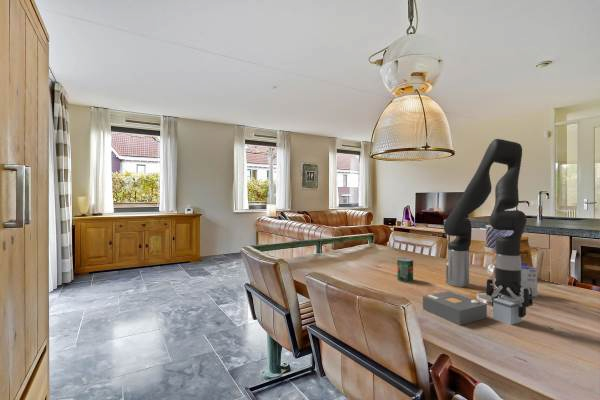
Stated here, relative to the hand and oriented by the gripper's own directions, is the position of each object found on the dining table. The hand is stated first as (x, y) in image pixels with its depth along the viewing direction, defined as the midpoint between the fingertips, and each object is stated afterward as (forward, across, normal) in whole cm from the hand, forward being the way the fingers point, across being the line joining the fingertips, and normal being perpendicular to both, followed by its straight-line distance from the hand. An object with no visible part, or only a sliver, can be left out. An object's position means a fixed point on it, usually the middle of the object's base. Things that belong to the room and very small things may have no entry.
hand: (508, 312), depth 105 cm
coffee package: (+3, +31, -59) cm, 67 cm away
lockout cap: (+3, 0, 0) cm, 3 cm away
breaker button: (+2, +12, +12) cm, 17 cm away
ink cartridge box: (+3, +14, -33) cm, 36 cm away
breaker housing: (+3, +12, +12) cm, 17 cm away
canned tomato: (+3, +53, -3) cm, 53 cm away
